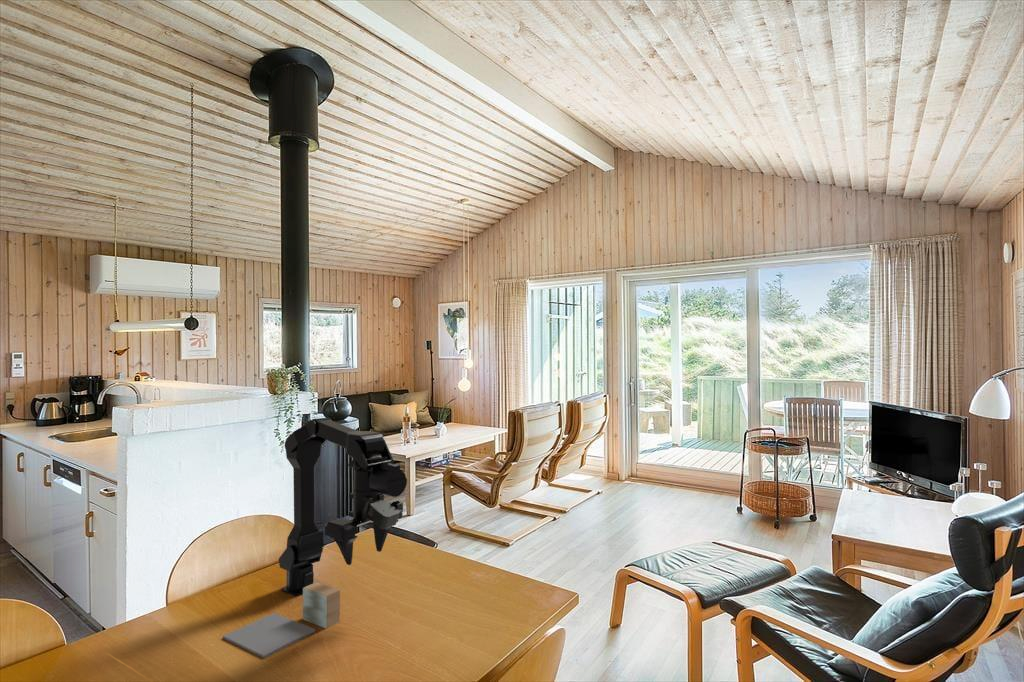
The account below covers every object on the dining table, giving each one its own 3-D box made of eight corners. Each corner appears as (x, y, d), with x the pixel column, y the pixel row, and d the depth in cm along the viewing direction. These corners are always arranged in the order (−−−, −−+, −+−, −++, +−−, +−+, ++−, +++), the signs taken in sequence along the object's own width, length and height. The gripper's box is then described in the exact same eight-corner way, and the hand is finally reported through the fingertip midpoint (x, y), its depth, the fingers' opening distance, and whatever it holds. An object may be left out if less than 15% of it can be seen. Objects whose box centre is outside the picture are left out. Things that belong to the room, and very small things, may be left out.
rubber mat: (222, 638, 112) (222, 635, 112) (274, 614, 122) (274, 612, 122) (264, 658, 105) (264, 655, 105) (315, 631, 115) (315, 629, 115)
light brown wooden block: (302, 619, 120) (302, 588, 120) (315, 612, 123) (316, 582, 124) (326, 629, 116) (326, 596, 116) (339, 621, 119) (340, 590, 119)
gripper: (361, 504, 110) (359, 581, 109) (420, 485, 126) (418, 552, 125) (323, 495, 115) (321, 568, 115) (385, 478, 131) (383, 542, 131)
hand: (364, 557), depth 121 cm, fingers open, 9 cm apart
